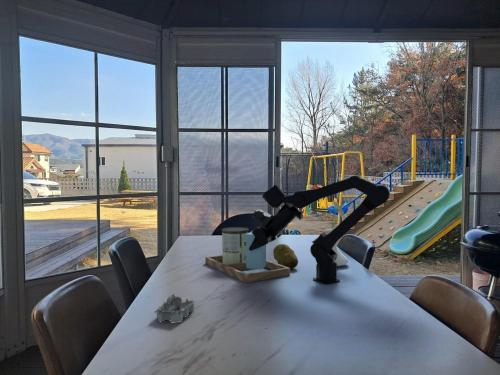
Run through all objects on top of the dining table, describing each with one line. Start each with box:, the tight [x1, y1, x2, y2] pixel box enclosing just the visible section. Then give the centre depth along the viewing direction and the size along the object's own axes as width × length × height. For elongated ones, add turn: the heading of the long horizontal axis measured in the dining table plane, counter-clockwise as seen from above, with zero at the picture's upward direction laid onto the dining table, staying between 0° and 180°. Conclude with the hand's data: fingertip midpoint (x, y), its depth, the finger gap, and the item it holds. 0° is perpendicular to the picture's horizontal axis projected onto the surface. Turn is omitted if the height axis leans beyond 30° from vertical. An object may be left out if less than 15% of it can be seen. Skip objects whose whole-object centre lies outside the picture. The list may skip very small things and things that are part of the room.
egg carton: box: [154, 293, 196, 323], centre depth 99 cm, size 11×8×4 cm
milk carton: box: [246, 231, 267, 270], centre depth 139 cm, size 6×6×13 cm
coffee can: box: [221, 226, 250, 265], centre depth 152 cm, size 10×10×14 cm
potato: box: [272, 243, 299, 270], centre depth 149 cm, size 8×13×8 cm, turn 5°
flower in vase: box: [326, 200, 349, 267], centre depth 152 cm, size 13×11×25 cm
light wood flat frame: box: [204, 254, 291, 284], centre depth 145 cm, size 31×18×2 cm, turn 32°
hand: (252, 248), depth 139 cm, fingers closed on milk carton, 5 cm apart
